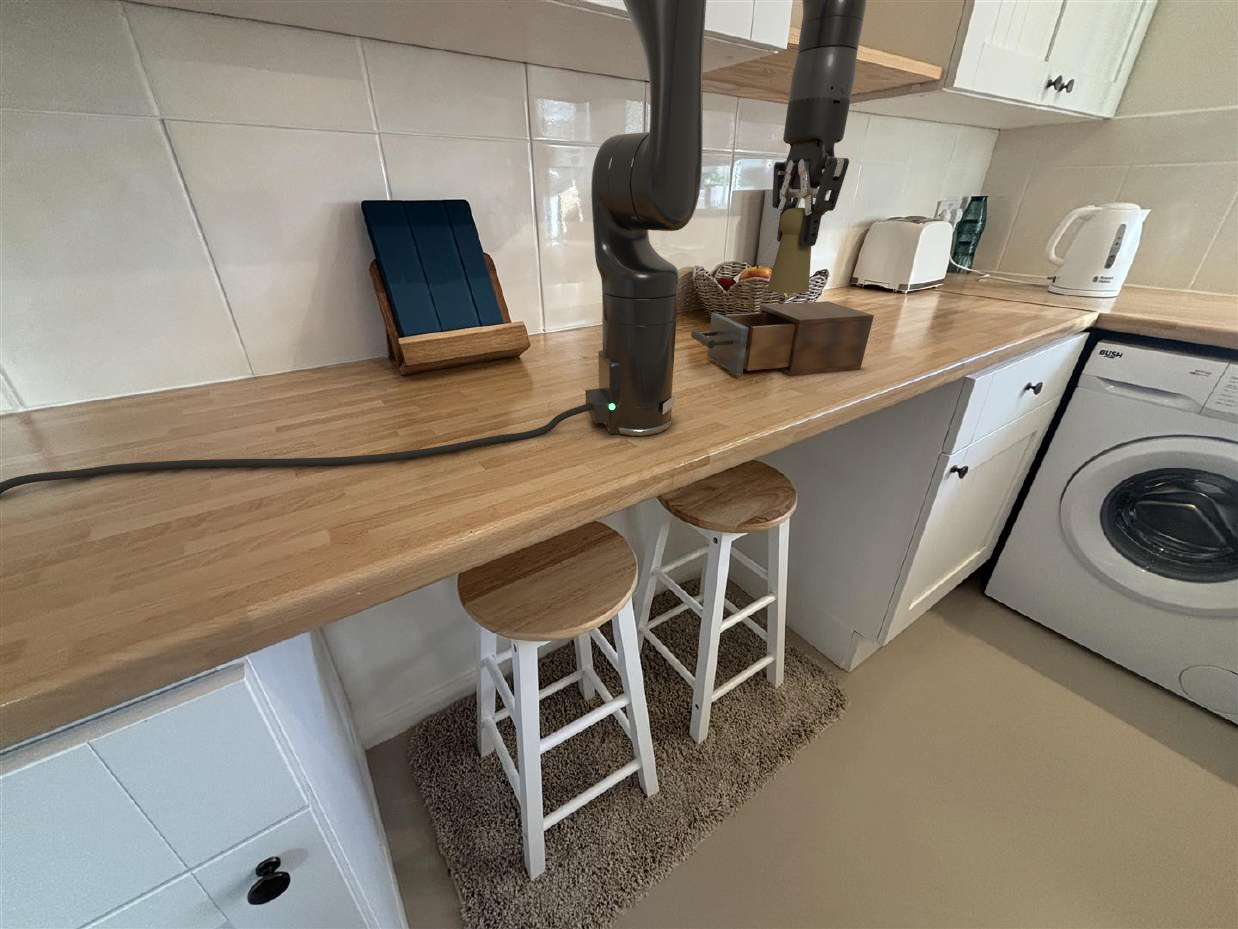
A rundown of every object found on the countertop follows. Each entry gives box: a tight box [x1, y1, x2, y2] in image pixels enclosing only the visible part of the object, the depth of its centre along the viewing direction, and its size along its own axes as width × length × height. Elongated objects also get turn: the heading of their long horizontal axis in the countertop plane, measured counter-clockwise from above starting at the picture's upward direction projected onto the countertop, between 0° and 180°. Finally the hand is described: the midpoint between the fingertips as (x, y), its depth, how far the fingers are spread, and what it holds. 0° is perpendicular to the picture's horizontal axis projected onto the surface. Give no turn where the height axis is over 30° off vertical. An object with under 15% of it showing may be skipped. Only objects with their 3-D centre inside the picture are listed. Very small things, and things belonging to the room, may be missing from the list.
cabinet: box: [759, 300, 875, 377], centre depth 90 cm, size 15×13×10 cm
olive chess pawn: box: [767, 207, 812, 295], centre depth 71 cm, size 6×6×11 cm
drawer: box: [690, 312, 797, 376], centre depth 87 cm, size 18×11×8 cm, turn 106°
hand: (795, 243), depth 71 cm, fingers closed on olive chess pawn, 5 cm apart
